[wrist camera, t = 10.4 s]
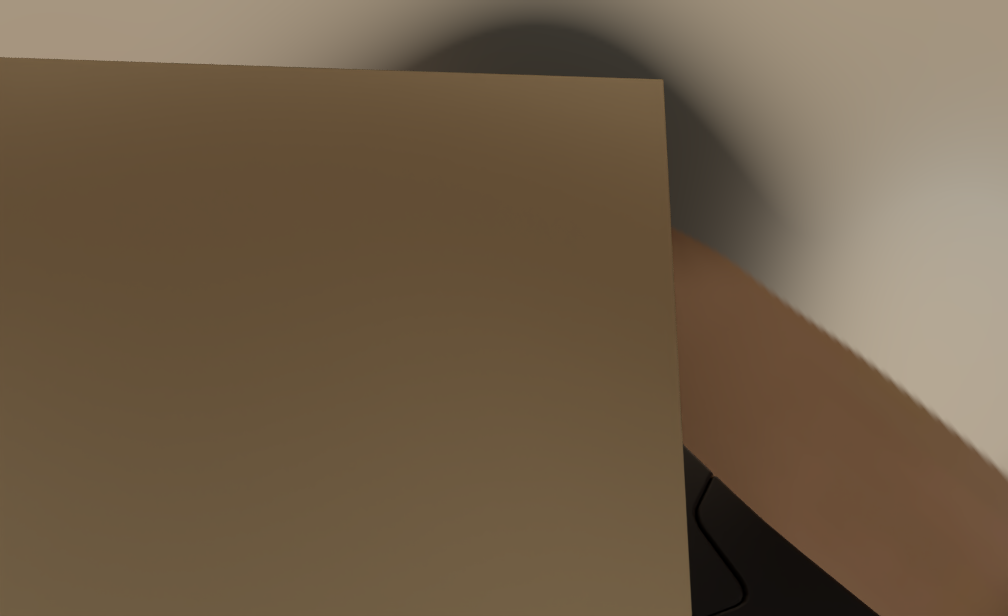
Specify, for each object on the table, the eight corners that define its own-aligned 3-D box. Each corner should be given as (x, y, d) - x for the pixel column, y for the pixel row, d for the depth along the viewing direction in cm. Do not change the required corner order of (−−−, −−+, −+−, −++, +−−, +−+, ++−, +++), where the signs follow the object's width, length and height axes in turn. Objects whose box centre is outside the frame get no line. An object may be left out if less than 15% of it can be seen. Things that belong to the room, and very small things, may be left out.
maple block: (537, 542, 14) (713, 1020, 2) (368, 534, 14) (-390, 950, 2) (541, 373, 15) (662, 79, 3) (387, 367, 15) (-19, 55, 3)
